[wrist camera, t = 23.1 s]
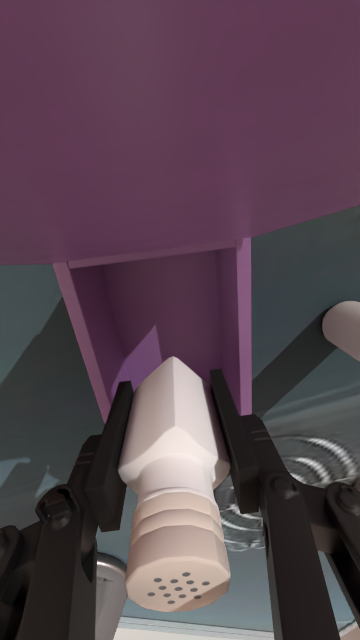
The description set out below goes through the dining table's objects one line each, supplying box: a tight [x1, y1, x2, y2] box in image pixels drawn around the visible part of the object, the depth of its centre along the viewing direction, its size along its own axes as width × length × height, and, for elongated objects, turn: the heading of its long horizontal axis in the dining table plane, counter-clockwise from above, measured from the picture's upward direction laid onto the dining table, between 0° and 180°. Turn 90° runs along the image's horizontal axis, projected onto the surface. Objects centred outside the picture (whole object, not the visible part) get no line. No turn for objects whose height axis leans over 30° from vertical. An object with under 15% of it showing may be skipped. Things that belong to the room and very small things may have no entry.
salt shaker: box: [118, 356, 231, 612], centre depth 11 cm, size 4×4×10 cm
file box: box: [52, 237, 252, 424], centre depth 19 cm, size 17×12×7 cm
